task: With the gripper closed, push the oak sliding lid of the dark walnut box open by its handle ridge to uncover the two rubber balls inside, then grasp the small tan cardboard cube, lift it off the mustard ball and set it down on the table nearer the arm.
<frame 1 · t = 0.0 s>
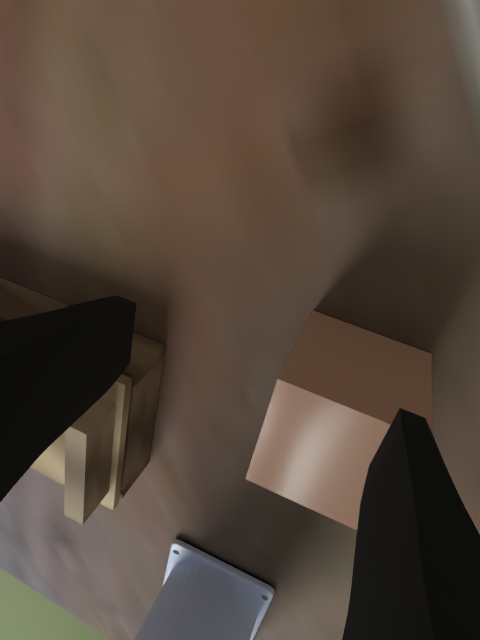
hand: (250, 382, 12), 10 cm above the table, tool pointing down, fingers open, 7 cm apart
lid: (2, 413, 25), point 5 cm above the table, slide at 0.0 cm
walnut box: (62, 367, 30), on the table
tan cardboard cube: (350, 378, 22), on the table
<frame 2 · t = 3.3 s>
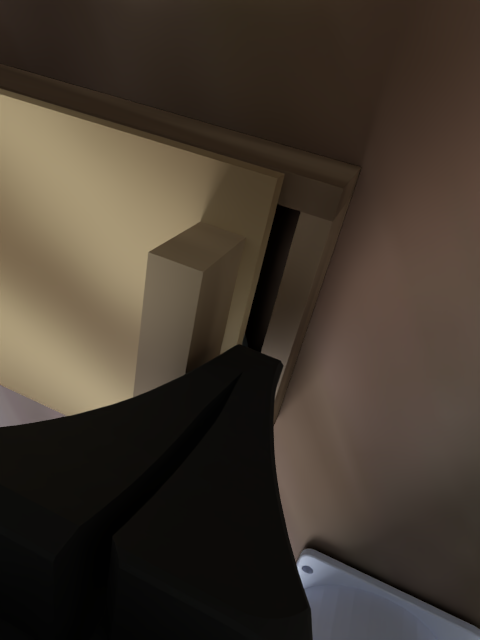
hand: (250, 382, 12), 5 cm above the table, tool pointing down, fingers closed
lid: (0, 287, 13), point 5 cm above the table, slide at 1.3 cm, touching gripper
walnut box: (134, 249, 17), on the table
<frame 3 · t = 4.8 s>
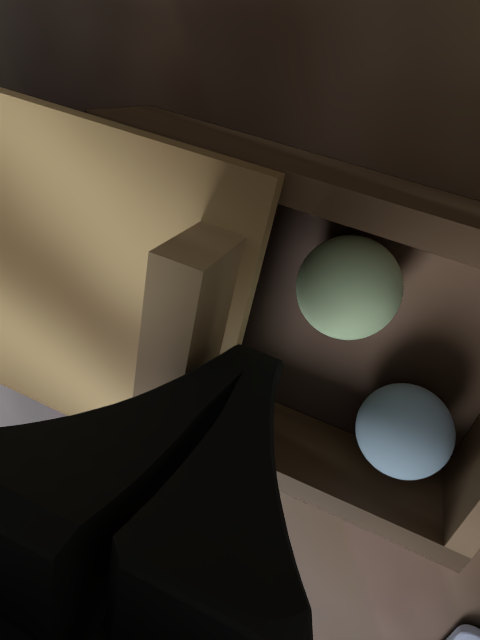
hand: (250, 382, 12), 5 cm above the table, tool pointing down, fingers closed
sage ball: (355, 270, 14), resting in walnut box
walnut box: (313, 314, 15), on the table
slate ball: (405, 403, 16), resting in walnut box
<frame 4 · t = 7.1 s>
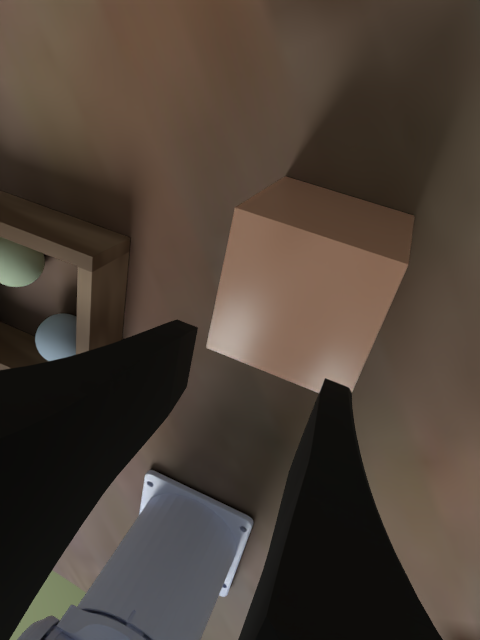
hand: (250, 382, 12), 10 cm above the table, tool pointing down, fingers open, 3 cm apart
sage ball: (34, 251, 26), resting in walnut box
walnut box: (25, 277, 28), on the table
slate ball: (79, 327, 28), resting in walnut box
tan cardboard cube: (327, 256, 20), on the table
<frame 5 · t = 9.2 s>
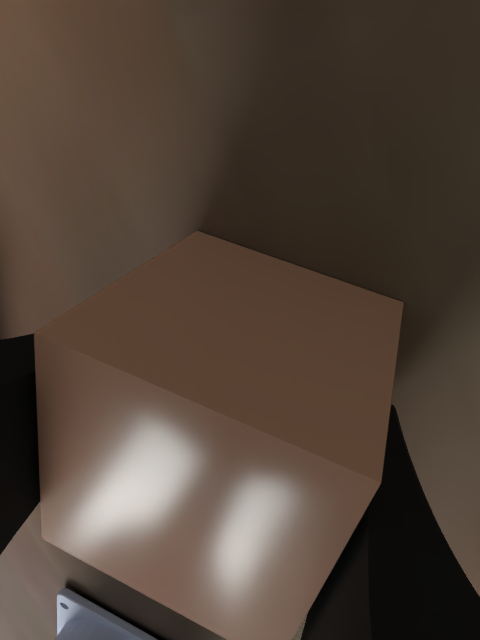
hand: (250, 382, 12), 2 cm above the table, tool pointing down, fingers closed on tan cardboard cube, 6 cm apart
tan cardboard cube: (269, 351, 13), on the table, touching gripper
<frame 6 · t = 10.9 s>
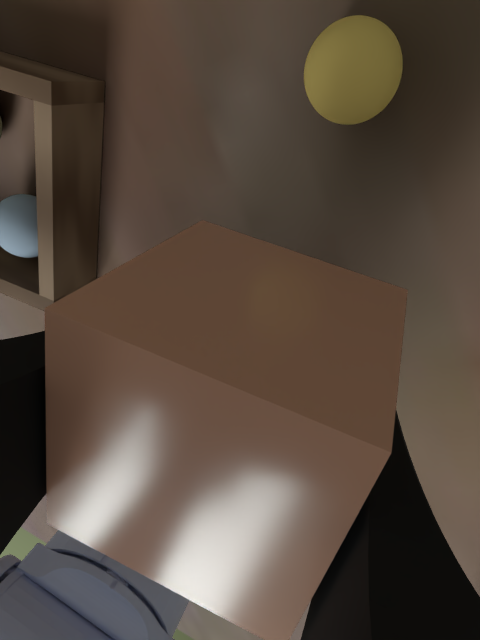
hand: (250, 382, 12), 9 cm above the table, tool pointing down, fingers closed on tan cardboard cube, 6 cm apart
mustard ball: (352, 72, 14), on the table
slate ball: (48, 218, 23), resting in walnut box
tan cardboard cube: (273, 341, 13), point 7 cm above the table, touching gripper
when the fingers open (3 cm above the table, at t = 12.6 s): tan cardboard cube drops 1 cm, on the table.
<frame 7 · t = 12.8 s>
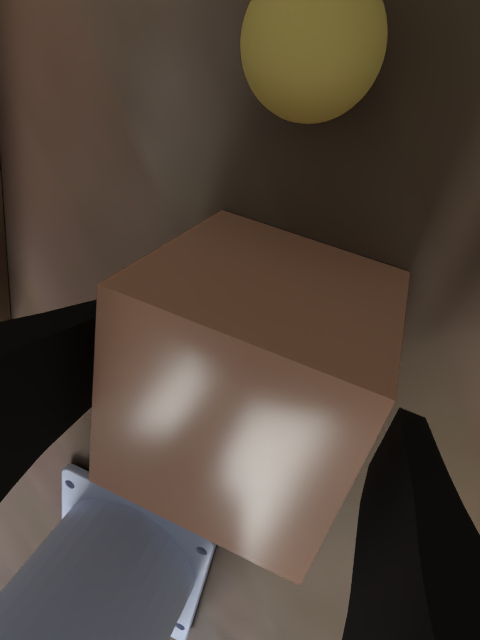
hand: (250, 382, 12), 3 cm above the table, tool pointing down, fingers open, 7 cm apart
mustard ball: (312, 45, 9), on the table
tan cardboard cube: (286, 321, 14), on the table
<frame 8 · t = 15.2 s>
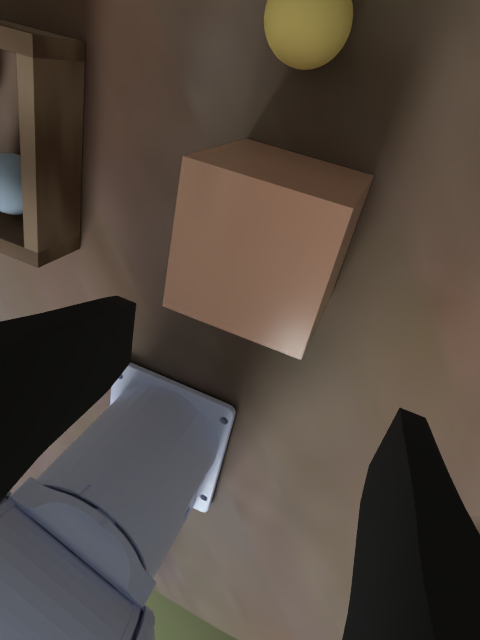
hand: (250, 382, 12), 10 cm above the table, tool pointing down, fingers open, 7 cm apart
mustard ball: (307, 19, 15), on the table
slate ball: (33, 179, 24), resting in walnut box
tan cardboard cube: (290, 220, 20), on the table
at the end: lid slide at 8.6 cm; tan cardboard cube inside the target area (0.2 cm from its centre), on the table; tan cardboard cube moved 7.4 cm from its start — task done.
